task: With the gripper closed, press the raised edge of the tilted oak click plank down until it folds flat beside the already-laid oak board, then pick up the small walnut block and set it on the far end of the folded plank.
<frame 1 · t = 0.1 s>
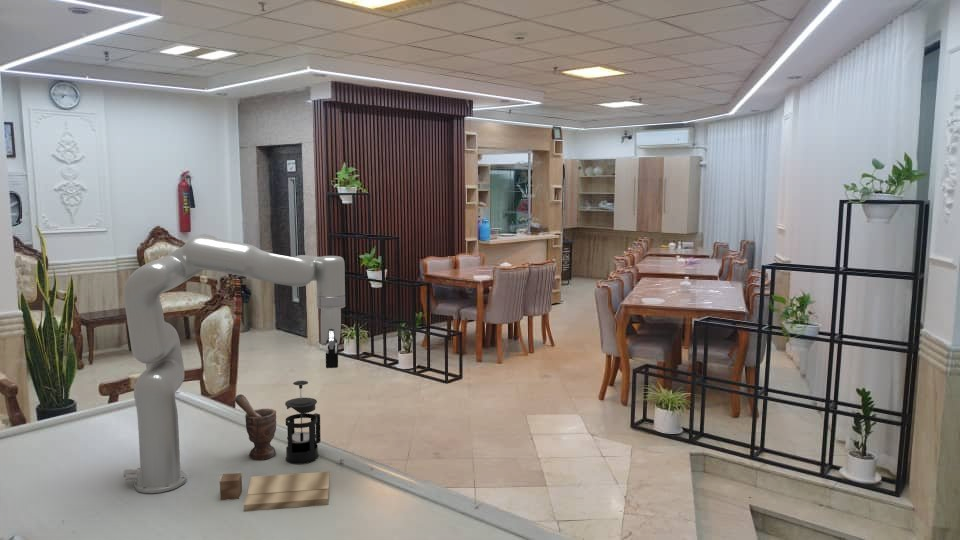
hand: (332, 363, 182), 31 cm above the table, tool pointing down, fingers open, 9 cm apart
click plank: (289, 485, 173), point 2 cm above the table, hinge at 14.6°
walnut block: (231, 495, 170), on the table
french press: (303, 457, 195), on the table
laid board: (287, 502, 167), on the table
mortar and pestle: (258, 458, 195), on the table
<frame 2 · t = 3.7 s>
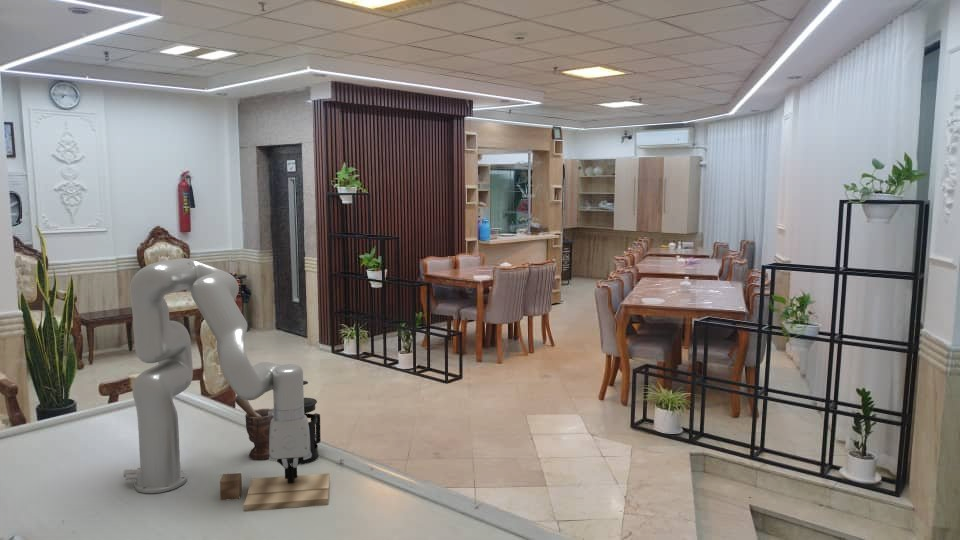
hand: (291, 480, 174), 2 cm above the table, tool pointing down, fingers closed
click plank: (289, 486, 173), point 1 cm above the table, hinge at 9.0°, touching gripper
everything else where it was.
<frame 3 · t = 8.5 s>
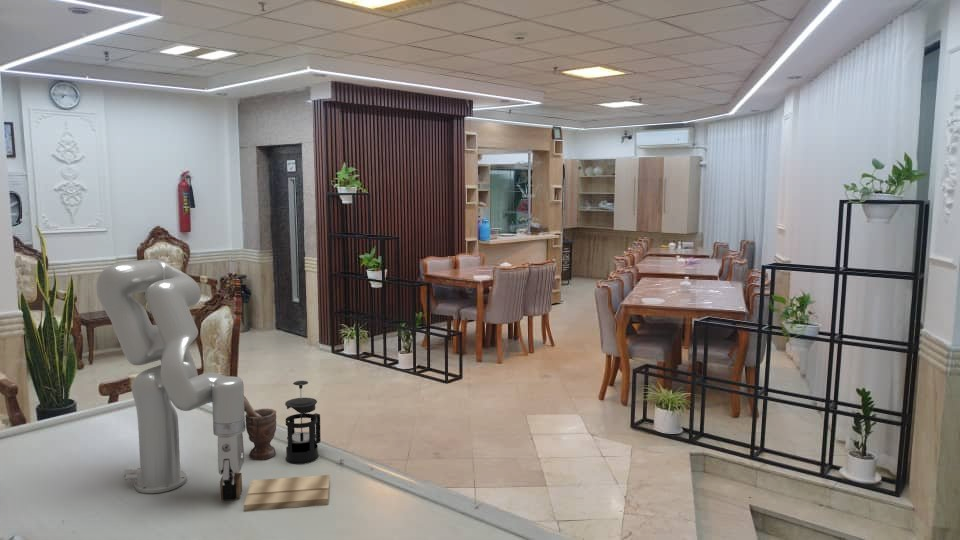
hand: (231, 494, 170), 0 cm above the table, tool pointing down, fingers closed on walnut block, 4 cm apart
click plank: (289, 486, 173), point 1 cm above the table, hinge at 4.6°
walnut block: (231, 495, 170), on the table, touching gripper
everything else where it was.
when the fingers open (3 cm above the table, at t = 13.5 s): walnut block stays where it is, resting on click plank.
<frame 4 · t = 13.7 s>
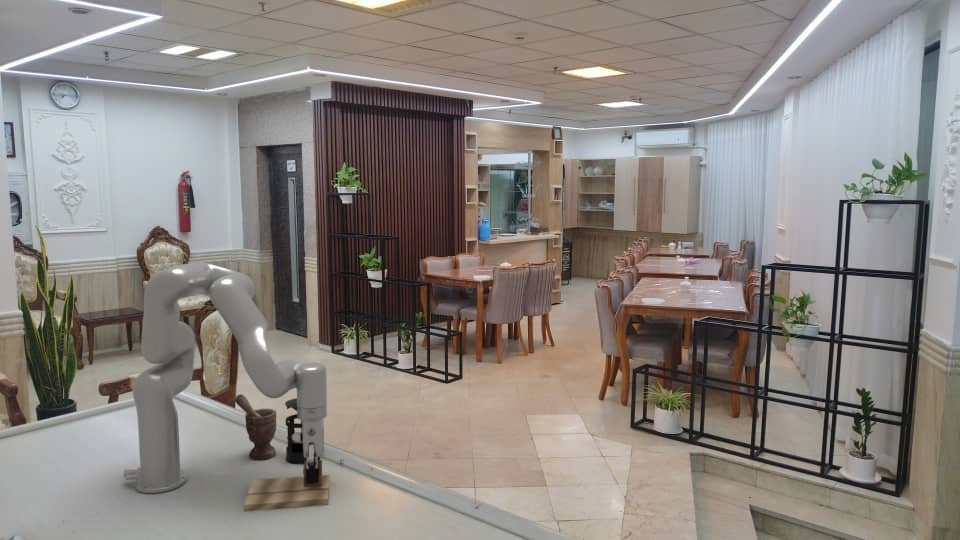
hand: (313, 476, 174), 3 cm above the table, tool pointing down, fingers open, 6 cm apart
click plank: (289, 486, 173), point 1 cm above the table, hinge at 4.6°, touching walnut block
walnut block: (313, 482, 174), point 2 cm above the table, touching click plank
everything else where it was.
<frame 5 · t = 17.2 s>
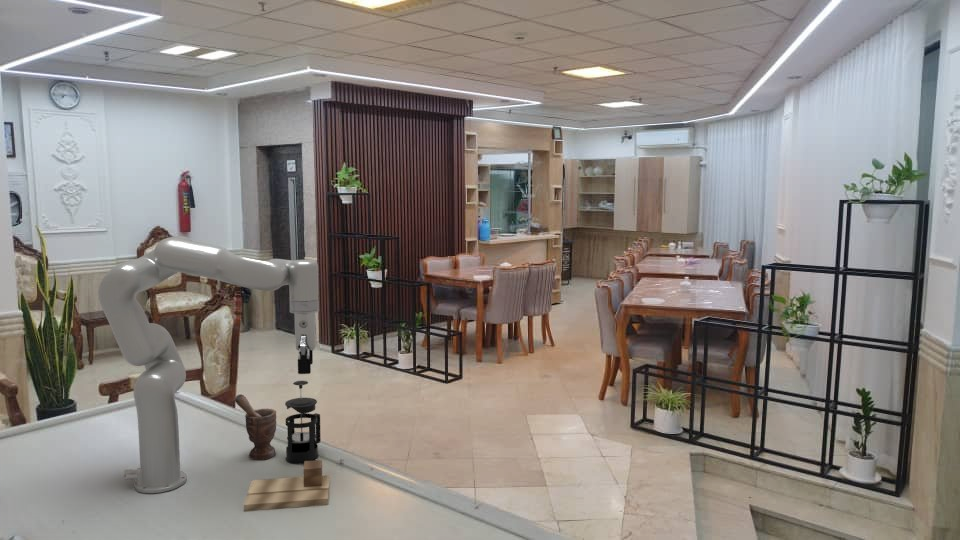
hand: (305, 368, 178), 30 cm above the table, tool pointing down, fingers open, 9 cm apart
nothing on the table moved.
at the end: click plank at +4° (first picture: +15°); walnut block 0.2 cm from the target spot on the click plank, point 1.9 cm above the click plank's base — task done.
